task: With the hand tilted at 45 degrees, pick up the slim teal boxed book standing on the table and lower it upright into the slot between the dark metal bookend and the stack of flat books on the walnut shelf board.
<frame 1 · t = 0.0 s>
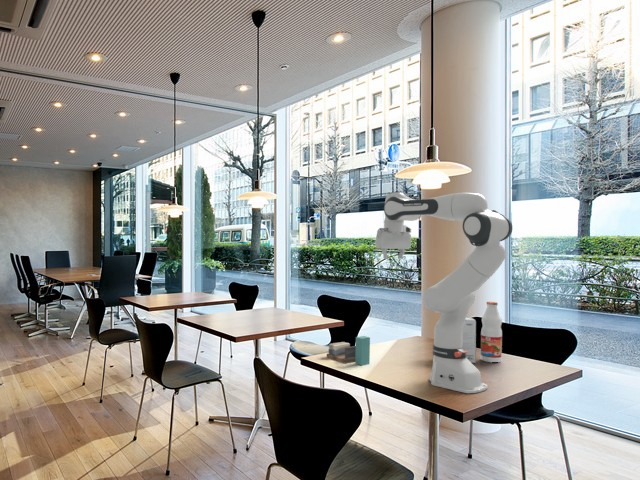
hand: (393, 258, 209), 48 cm above the table, tool pointing down, fingers open, 8 cm apart
fruit juice: (490, 360, 220), on the table
hard drive box: (457, 361, 218), on the table
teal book: (362, 363, 209), on the table
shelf: (347, 359, 217), on the table
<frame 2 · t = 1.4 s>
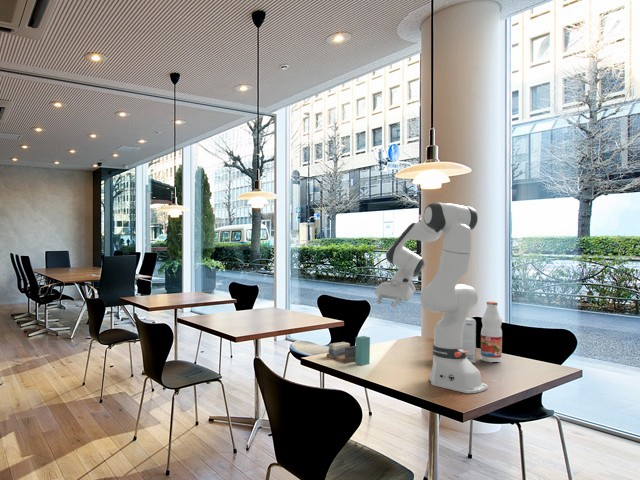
hand: (385, 304, 218), 26 cm above the table, tool tilted 45°, fingers open, 8 cm apart
nothing on the table moved.
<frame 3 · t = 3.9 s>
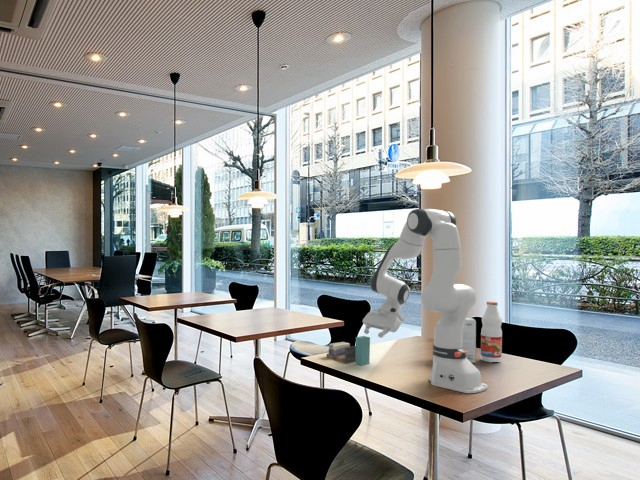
hand: (372, 334, 213), 12 cm above the table, tool tilted 45°, fingers open, 8 cm apart
nothing on the table moved.
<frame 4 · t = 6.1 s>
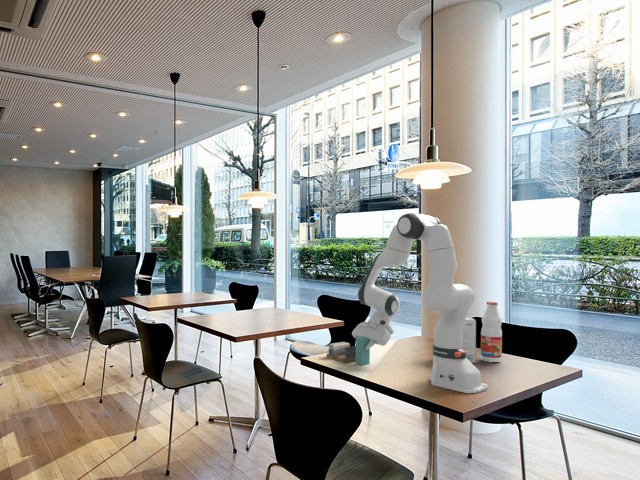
hand: (361, 348, 208), 7 cm above the table, tool tilted 45°, fingers closed on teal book, 4 cm apart
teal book: (362, 363, 209), on the table, touching gripper
everything else where it was.
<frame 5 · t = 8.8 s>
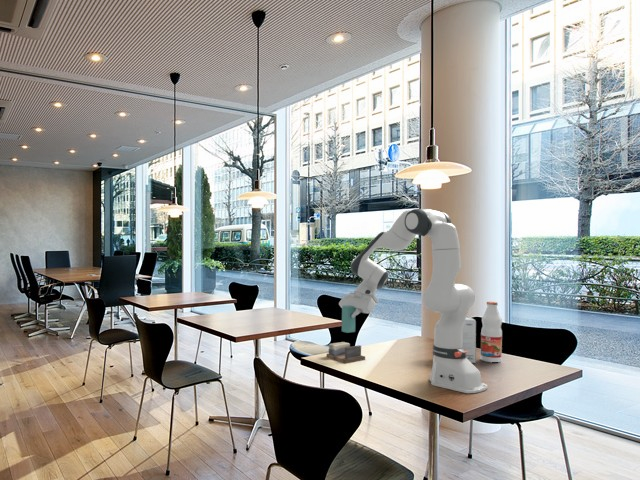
hand: (347, 316, 216), 20 cm above the table, tool tilted 45°, fingers closed on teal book, 4 cm apart
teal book: (348, 331, 217), point 13 cm above the table, touching gripper
everything else where it was.
when the fingers open (10 cm above the table, at t = 11.3 s): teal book drops 1 cm, resting on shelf.
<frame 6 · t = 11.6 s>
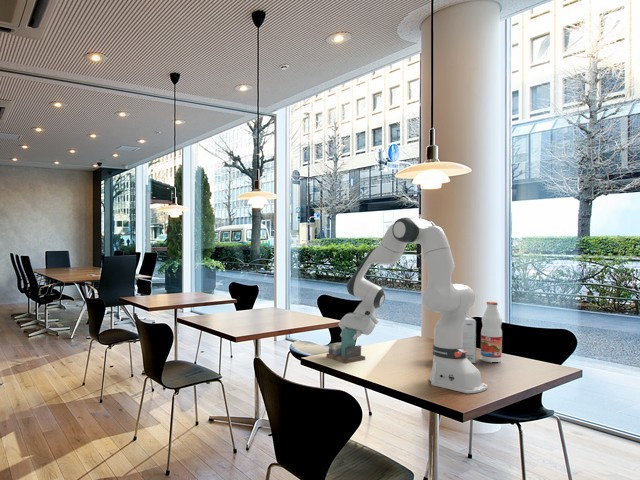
hand: (347, 337, 216), 10 cm above the table, tool tilted 45°, fingers open, 7 cm apart
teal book: (347, 355, 217), point 1 cm above the table, touching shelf
everything else where it was.
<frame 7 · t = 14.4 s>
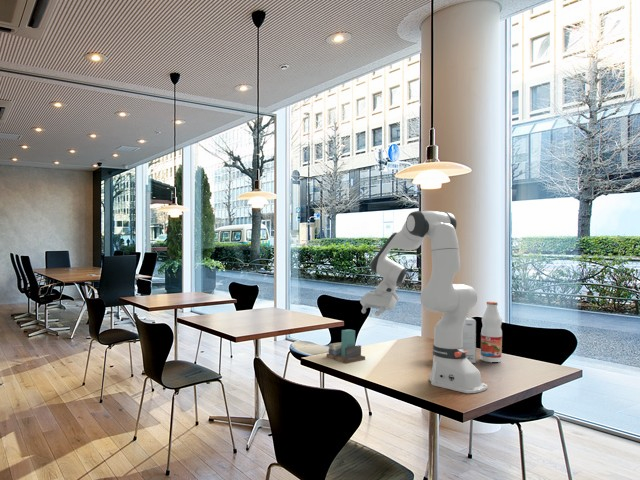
hand: (369, 313, 224), 20 cm above the table, tool tilted 45°, fingers open, 8 cm apart
nothing on the table moved.
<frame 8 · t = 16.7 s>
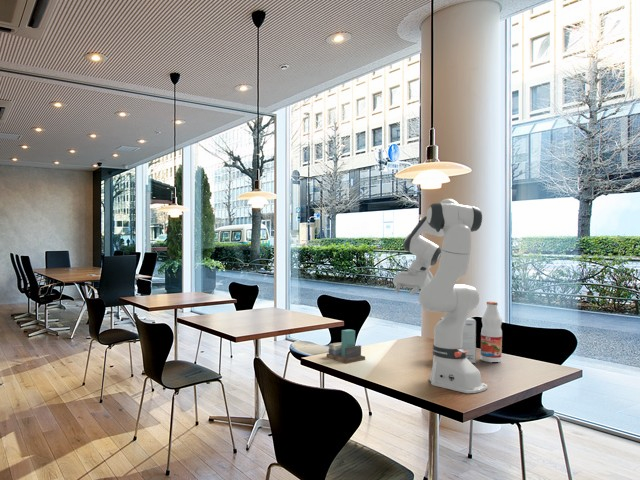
hand: (403, 292, 221), 31 cm above the table, tool tilted 45°, fingers open, 8 cm apart
nothing on the table moved.
at the end: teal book 0.2 cm off-centre on the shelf, point 1.5 cm above the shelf's base; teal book tilted 0°; the gripper is holding nothing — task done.
